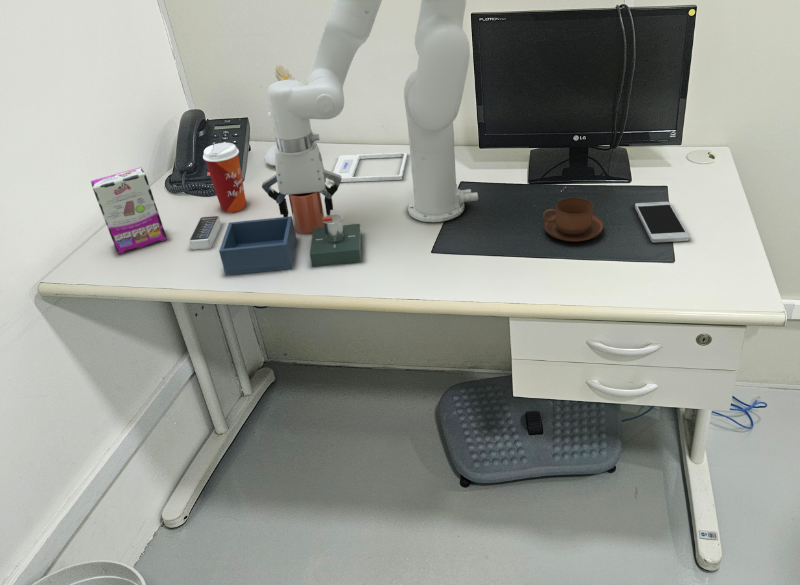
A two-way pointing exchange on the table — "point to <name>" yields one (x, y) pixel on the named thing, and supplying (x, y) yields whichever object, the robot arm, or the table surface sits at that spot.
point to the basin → (258, 246)
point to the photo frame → (349, 164)
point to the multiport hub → (205, 232)
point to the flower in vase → (280, 75)
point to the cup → (307, 211)
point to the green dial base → (336, 247)
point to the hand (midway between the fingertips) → (307, 214)
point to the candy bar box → (129, 210)
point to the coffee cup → (226, 175)
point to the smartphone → (661, 222)
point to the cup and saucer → (573, 220)
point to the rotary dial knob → (333, 228)
